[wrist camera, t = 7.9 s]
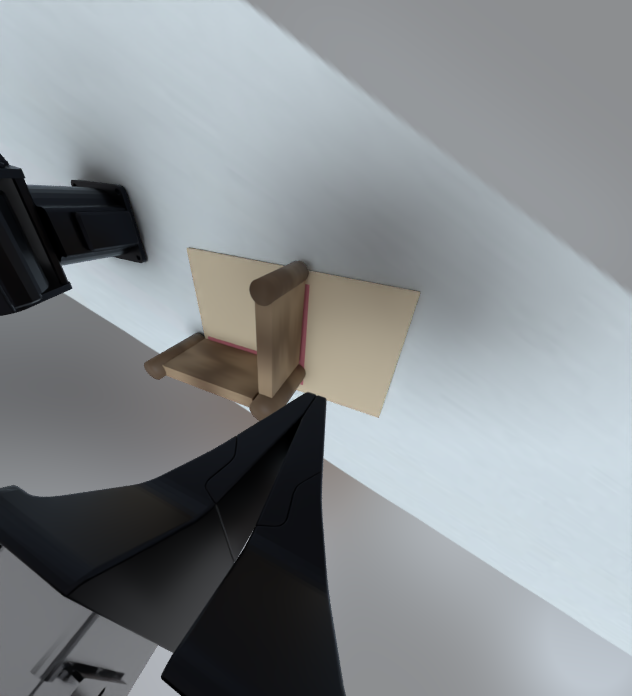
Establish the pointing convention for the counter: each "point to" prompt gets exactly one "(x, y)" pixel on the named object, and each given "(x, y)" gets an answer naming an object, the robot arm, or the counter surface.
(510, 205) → the counter surface
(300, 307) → the fence gate
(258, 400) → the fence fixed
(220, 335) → the card
